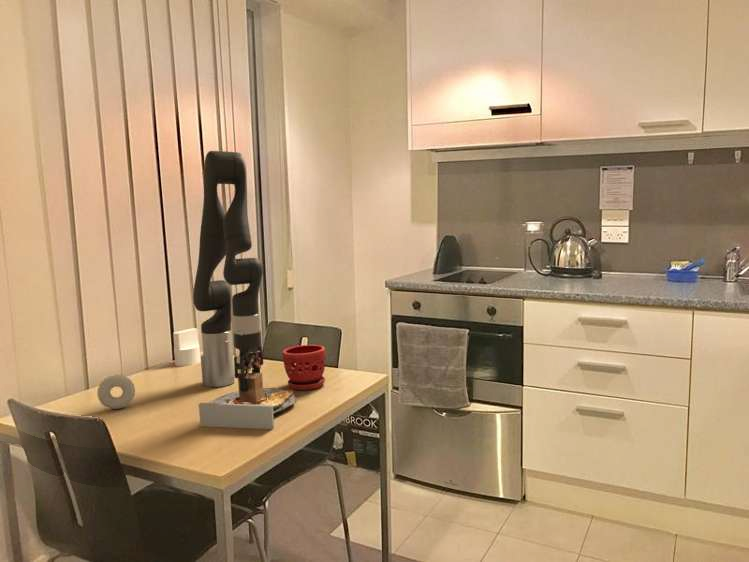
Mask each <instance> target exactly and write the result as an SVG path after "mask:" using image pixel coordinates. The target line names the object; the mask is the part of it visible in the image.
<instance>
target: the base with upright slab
mask: <svg viewBox="0 0 749 562" xmlns="http://www.w3.org/2000/svg"><path fill="white" fill-rule="evenodd" d="M172 335H173V346H174V347H173V352H174V353H173V354H174V364H175V366H178V367H188V366H189V367H190V366H195V365H198V364H201V350H200V344H199V331H198V328H195V327H193V328H188V329H183V330H179V331H174V332H173V333H172Z"/></svg>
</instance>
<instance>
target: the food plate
mask: <svg viewBox="0 0 749 562" xmlns="http://www.w3.org/2000/svg"><path fill="white" fill-rule="evenodd" d="M263 395H264V397H263V398H262V399H260V400H259V401H258V402H257V403H260V404H257V403H249V402H240V399H239V390H238V391H231V392H229V393H226V394H224V395H222V396H219V397H217V398H216V399H214V400H210V401H209V402H208V403H224V404H226V402H230V401H232V400H233V401H232V402H234V403H232V402H231V404H251V405H256V404H257V405H273V415H274V414H275V413H278V412H281V411H283V410H285V409H286V408H288V407H289V406H293V405H294V404H295V403H296V402H297V398H296V395H295V394H294V391H293V390H291V389H290V390H284V389H281V388H275V387H263ZM265 398H266V399H265ZM267 398H268V400H267ZM227 404H229V403H227Z"/></svg>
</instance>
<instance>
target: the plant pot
mask: <svg viewBox="0 0 749 562" xmlns="http://www.w3.org/2000/svg"><path fill="white" fill-rule="evenodd" d="M282 360H283V367H284V371H285V373H286V375H287V377H288V381H287V384H288V386H289V387H290V388H292V389H294V390H300V391H301V390H302V391H304V390H305V391H306V390H313V389H317V388H320V387H321V386H322V385H324V384H325V381H326V378H325V376H324V372H325V369H326V348H325V347H324V346H323V345H318V344H301V345H295V346H291V347H288V348H285V349H283V351H282Z"/></svg>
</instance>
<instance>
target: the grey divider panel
mask: <svg viewBox="0 0 749 562" xmlns="http://www.w3.org/2000/svg"><path fill="white" fill-rule="evenodd" d="M198 412H199V413H198V414H199V426H200V427H213V428H231V429H232V428H235V429H256V430H257V429H258V430H274V429H275V420H274V419H275V418H274V414H273V405H259V404H257V405H251V404H235V403H231V404H228V403H227V404H224V403H209V402H199V403H198Z"/></svg>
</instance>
